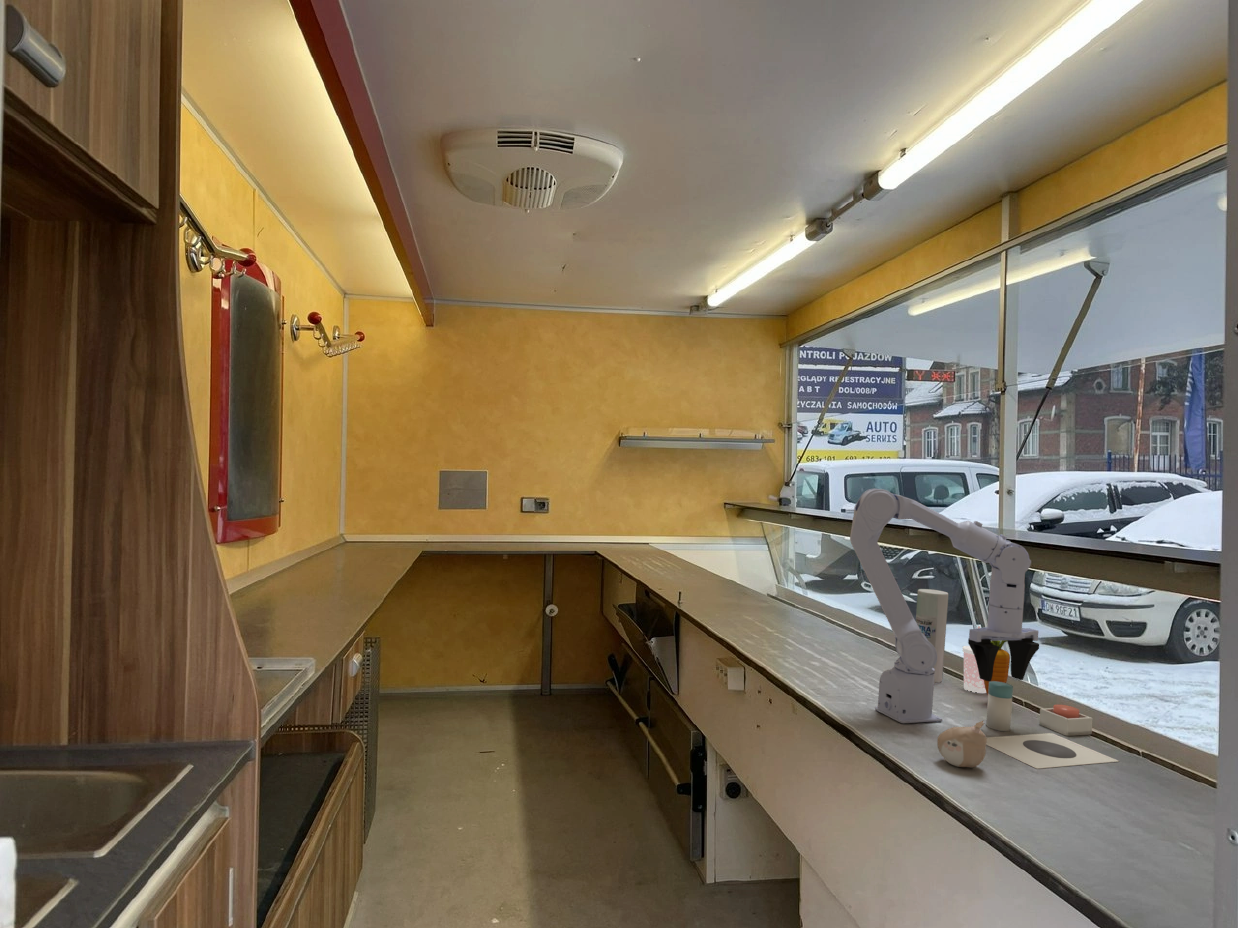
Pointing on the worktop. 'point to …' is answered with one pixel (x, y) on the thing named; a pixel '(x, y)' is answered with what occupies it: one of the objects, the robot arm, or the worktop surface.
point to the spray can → (933, 623)
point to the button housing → (1066, 723)
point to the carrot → (999, 665)
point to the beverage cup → (972, 672)
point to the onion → (963, 745)
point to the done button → (1066, 711)
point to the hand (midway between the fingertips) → (1001, 679)
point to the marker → (999, 706)
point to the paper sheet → (1046, 750)
